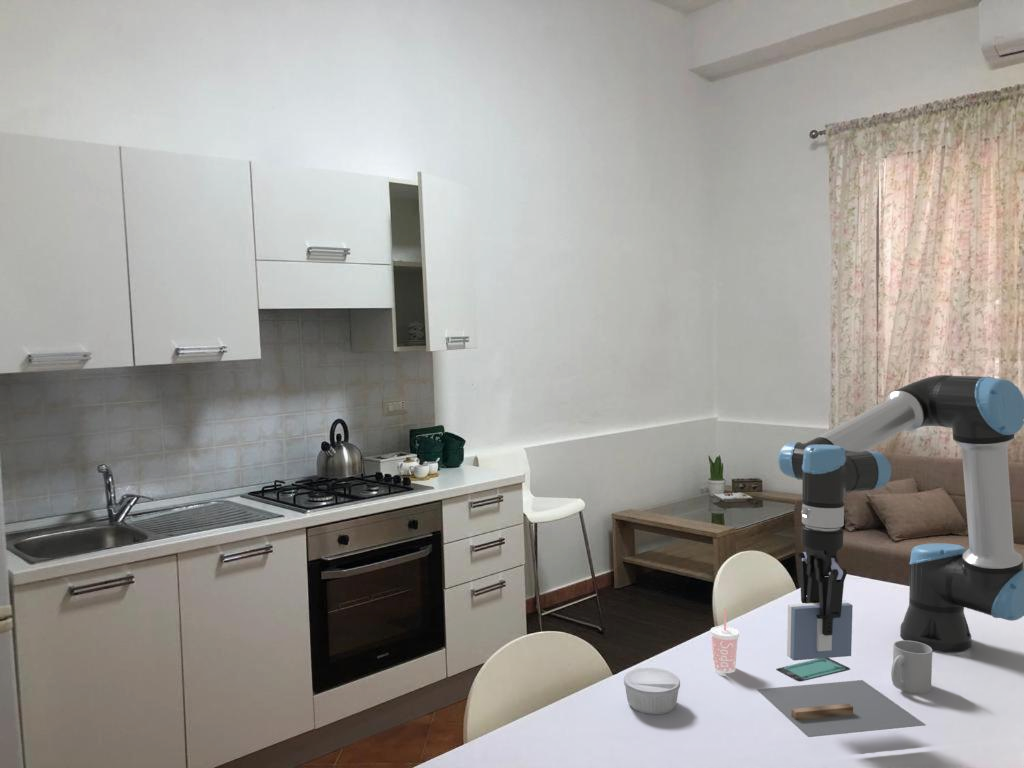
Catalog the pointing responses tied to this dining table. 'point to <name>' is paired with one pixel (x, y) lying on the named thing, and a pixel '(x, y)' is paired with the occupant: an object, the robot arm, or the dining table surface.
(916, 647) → the cup
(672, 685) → the ramekin
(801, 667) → the smartphone
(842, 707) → the strip
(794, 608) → the blue-grey flat block
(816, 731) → the mat
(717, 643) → the beverage cup
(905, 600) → the dining table surface
